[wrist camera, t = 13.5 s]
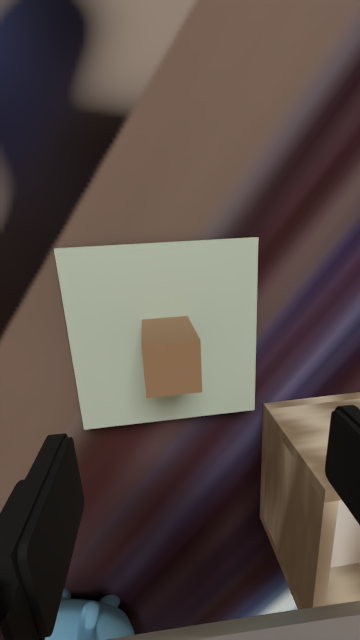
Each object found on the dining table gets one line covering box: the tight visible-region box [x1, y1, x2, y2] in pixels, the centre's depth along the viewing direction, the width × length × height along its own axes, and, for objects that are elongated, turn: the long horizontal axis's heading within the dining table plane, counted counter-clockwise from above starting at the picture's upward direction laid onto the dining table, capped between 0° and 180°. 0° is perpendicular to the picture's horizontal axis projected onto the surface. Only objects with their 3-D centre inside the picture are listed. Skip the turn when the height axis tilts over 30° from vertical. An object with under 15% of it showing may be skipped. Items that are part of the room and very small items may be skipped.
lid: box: [54, 237, 258, 430], centre depth 21 cm, size 15×15×8 cm
